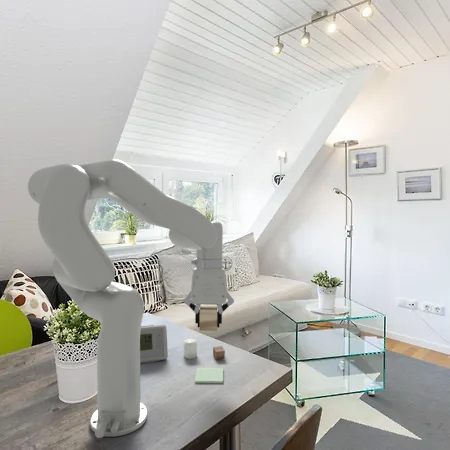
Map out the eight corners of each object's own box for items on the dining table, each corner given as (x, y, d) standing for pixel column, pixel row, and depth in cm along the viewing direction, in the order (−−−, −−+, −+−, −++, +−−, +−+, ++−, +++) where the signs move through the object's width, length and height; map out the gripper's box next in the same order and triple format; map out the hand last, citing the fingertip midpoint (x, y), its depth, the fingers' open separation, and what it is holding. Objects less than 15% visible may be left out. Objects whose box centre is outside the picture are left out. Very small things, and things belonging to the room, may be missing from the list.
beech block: (217, 330, 98) (217, 309, 98) (199, 330, 98) (199, 309, 98) (217, 324, 103) (217, 305, 103) (200, 324, 103) (200, 304, 103)
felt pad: (223, 383, 97) (223, 381, 97) (194, 383, 97) (194, 381, 97) (223, 369, 105) (223, 368, 105) (197, 369, 105) (197, 367, 105)
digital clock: (113, 367, 106) (113, 333, 106) (119, 355, 115) (119, 323, 115) (167, 365, 108) (166, 331, 108) (168, 353, 117) (168, 322, 117)
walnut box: (224, 359, 112) (224, 350, 112) (215, 360, 111) (215, 351, 111) (221, 354, 116) (221, 346, 116) (213, 355, 115) (213, 346, 115)
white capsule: (196, 358, 113) (196, 343, 112) (183, 358, 113) (182, 343, 112) (197, 353, 117) (197, 338, 117) (184, 353, 117) (184, 338, 117)
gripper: (178, 265, 96) (177, 330, 96) (239, 266, 96) (238, 330, 97) (181, 261, 103) (180, 321, 104) (237, 262, 104) (237, 322, 104)
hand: (208, 325), depth 100 cm, fingers closed on beech block, 5 cm apart
